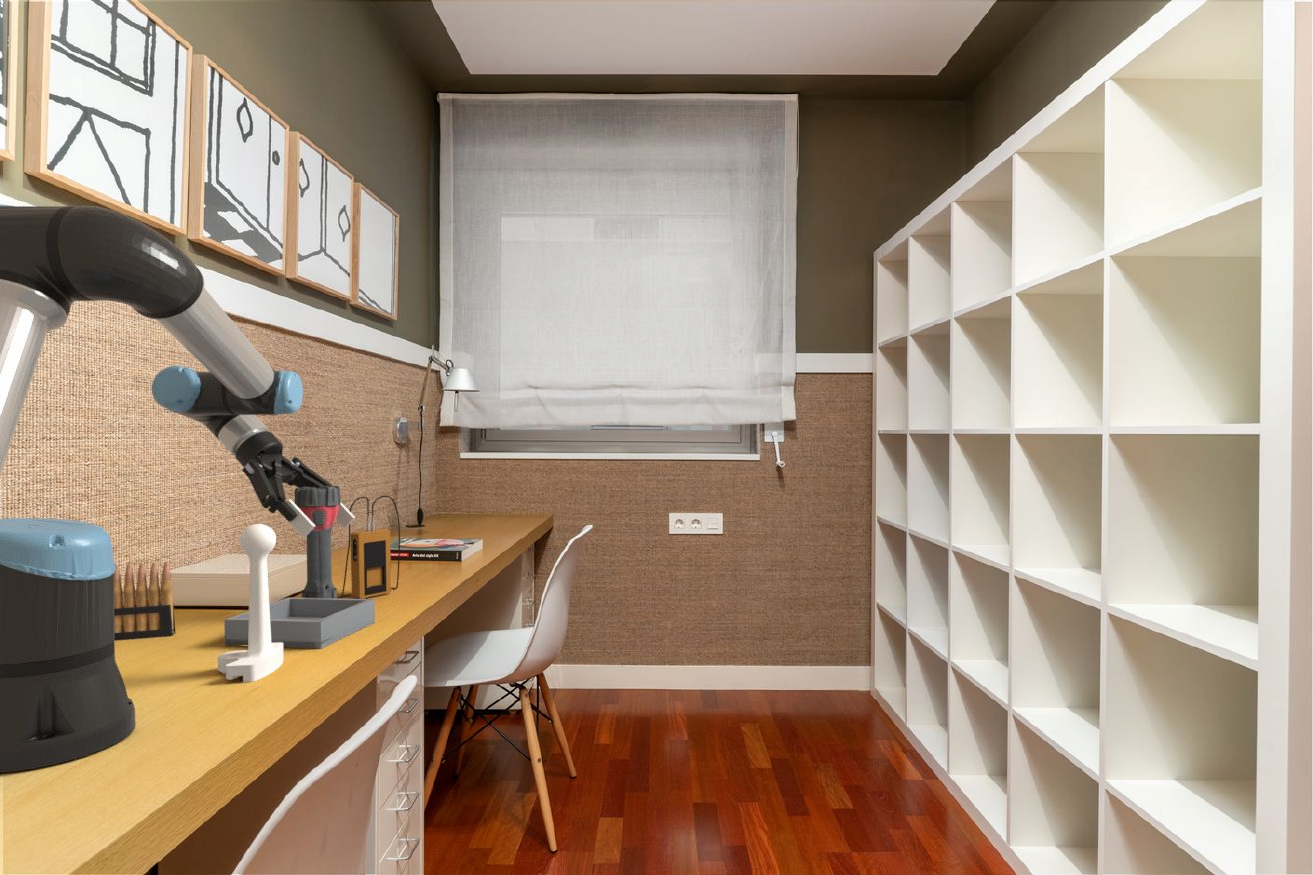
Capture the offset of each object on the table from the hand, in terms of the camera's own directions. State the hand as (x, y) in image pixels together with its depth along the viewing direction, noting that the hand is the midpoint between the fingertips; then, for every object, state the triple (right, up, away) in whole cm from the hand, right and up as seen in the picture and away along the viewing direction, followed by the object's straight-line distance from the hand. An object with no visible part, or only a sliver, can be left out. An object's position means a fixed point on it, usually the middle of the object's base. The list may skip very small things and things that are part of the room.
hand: (330, 527), depth 141 cm
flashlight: (-2, -16, 0) cm, 16 cm away
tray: (+2, -16, -14) cm, 21 cm away
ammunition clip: (-25, -16, -15) cm, 33 cm away
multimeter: (-1, -16, +16) cm, 23 cm away
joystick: (+3, -16, -34) cm, 37 cm away
